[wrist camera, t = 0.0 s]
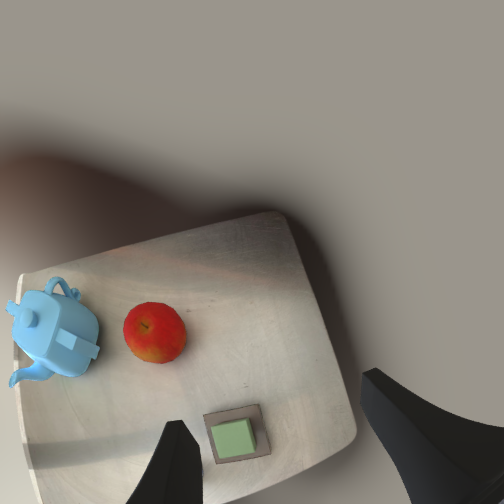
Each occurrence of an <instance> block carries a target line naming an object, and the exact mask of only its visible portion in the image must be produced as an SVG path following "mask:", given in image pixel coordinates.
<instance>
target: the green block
mask: <svg viewBox="0 0 504 504" xmlns="http://www.w3.org/2000/svg"><path fill="white" fill-rule="evenodd" d="M211 430H212V434H213V437H214V441H215V445H216V448H217V452H218V456H219V459H221V458H227V457H233V456H239V455H244V454H249V453H254V452H255V450H256V447H257V446H256V442H255V439H254V435H253V432H252V428H251V424H250V421H249V418H245V419H240V420H236V421H230V422H225V423H220V424H216V425H214V426H212V427H211Z"/></svg>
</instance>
